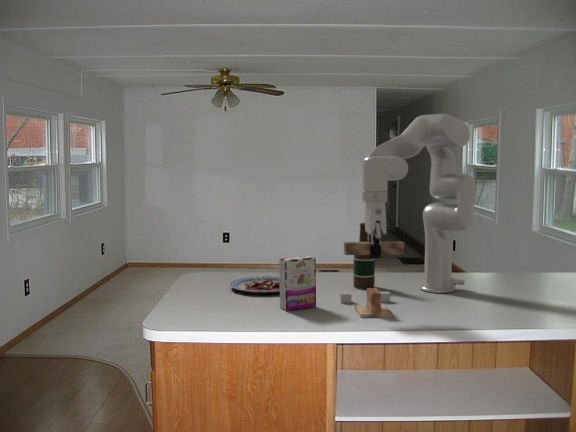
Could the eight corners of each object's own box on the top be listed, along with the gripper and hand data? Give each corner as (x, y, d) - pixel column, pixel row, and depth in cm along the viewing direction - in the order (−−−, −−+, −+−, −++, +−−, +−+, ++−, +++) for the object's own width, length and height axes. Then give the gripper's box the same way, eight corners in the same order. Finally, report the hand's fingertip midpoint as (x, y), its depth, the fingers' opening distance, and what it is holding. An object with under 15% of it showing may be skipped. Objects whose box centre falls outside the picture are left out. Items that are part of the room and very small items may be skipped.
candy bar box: (309, 304, 191) (309, 254, 190) (316, 307, 187) (316, 257, 185) (278, 308, 186) (278, 257, 185) (285, 311, 182) (285, 260, 180)
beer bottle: (373, 285, 220) (374, 222, 217) (374, 289, 212) (375, 224, 209) (353, 284, 220) (353, 222, 218) (353, 289, 213) (354, 224, 210)
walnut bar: (401, 252, 180) (401, 241, 180) (404, 254, 177) (404, 243, 177) (343, 253, 179) (343, 242, 179) (345, 255, 176) (345, 243, 176)
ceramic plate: (313, 290, 211) (313, 282, 211) (252, 300, 197) (252, 292, 197) (274, 279, 233) (274, 271, 232) (217, 287, 218) (217, 279, 218)
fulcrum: (385, 308, 185) (385, 286, 185) (393, 316, 175) (393, 294, 175) (354, 309, 185) (354, 287, 184) (360, 317, 175) (360, 294, 174)
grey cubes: (388, 300, 196) (388, 291, 195) (389, 302, 193) (390, 293, 193) (339, 301, 195) (339, 292, 194) (340, 303, 192) (340, 294, 192)
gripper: (393, 199, 169) (392, 261, 170) (380, 195, 185) (380, 252, 187) (368, 199, 168) (367, 261, 170) (357, 195, 184) (356, 252, 186)
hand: (373, 256), depth 178 cm, fingers closed on walnut bar, 3 cm apart
